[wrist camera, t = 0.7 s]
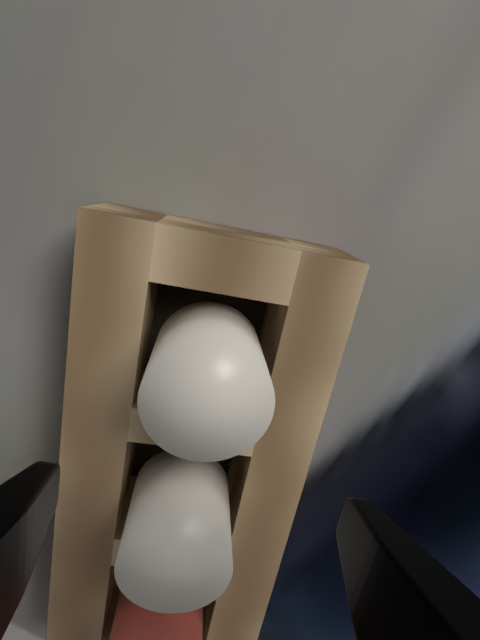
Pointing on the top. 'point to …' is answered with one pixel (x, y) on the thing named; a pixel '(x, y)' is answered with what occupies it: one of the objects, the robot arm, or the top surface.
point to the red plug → (154, 623)
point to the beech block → (127, 373)
